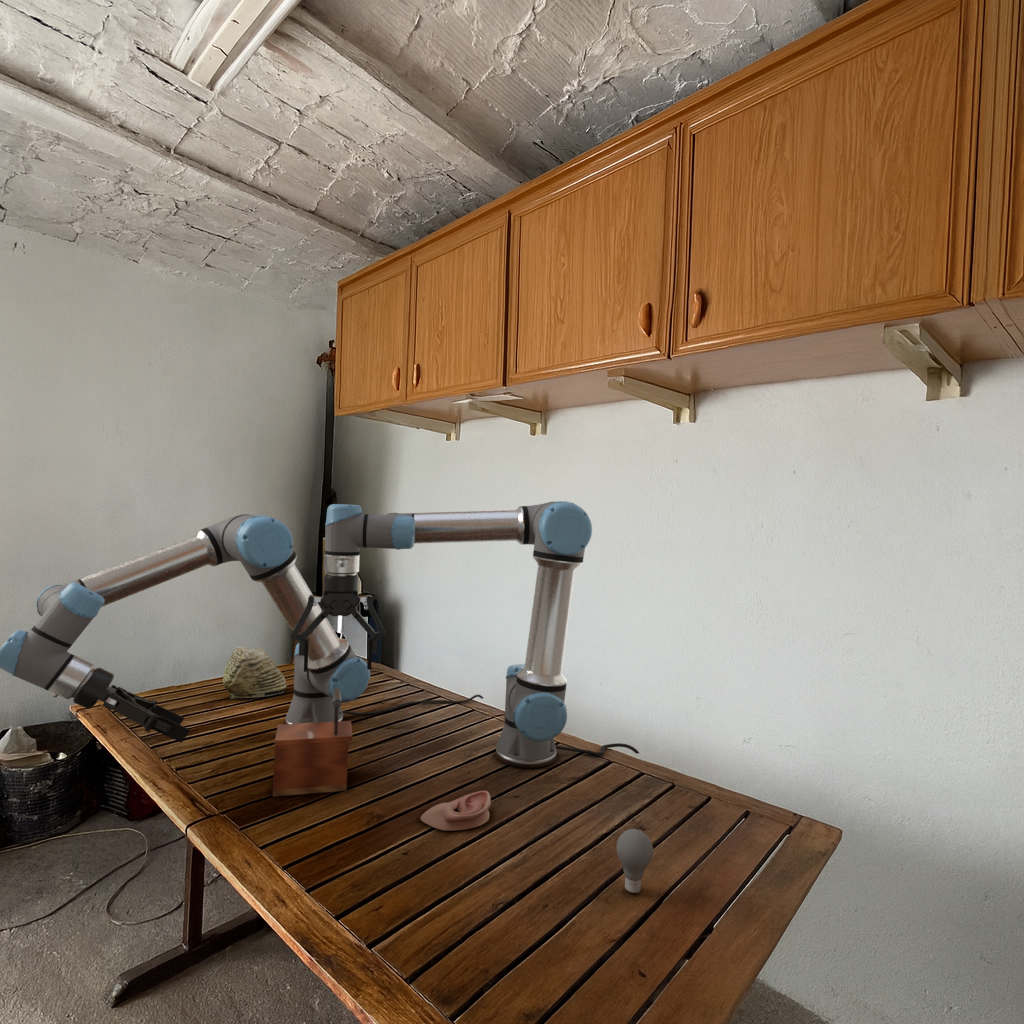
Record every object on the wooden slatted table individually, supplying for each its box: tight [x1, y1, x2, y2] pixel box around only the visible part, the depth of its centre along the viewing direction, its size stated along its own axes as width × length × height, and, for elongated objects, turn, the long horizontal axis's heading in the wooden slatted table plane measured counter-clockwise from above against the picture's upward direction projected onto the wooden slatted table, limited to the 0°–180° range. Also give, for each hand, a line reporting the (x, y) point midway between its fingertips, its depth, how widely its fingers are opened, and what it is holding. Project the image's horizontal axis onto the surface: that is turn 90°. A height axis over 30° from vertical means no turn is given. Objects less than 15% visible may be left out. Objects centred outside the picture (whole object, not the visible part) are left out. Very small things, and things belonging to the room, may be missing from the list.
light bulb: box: [615, 828, 654, 894], centre depth 106 cm, size 6×6×10 cm
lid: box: [274, 689, 353, 747], centre depth 139 cm, size 16×10×9 cm, turn 106°
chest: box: [272, 741, 349, 798], centre depth 140 cm, size 15×10×11 cm, turn 106°
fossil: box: [222, 646, 288, 699], centre depth 198 cm, size 9×18×15 cm, turn 132°
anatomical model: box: [419, 790, 492, 832], centre depth 127 cm, size 13×4×12 cm
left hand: (183, 729), depth 134 cm, fingers open, 13 cm apart
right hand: (337, 669), depth 141 cm, fingers open, 13 cm apart
